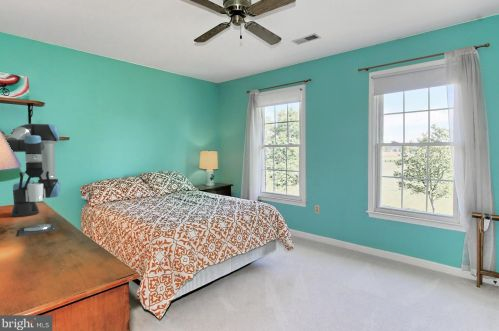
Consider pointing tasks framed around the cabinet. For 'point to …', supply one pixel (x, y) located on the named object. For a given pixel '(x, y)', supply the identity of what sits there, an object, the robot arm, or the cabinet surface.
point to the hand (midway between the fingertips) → (36, 200)
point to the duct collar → (37, 229)
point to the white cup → (35, 192)
